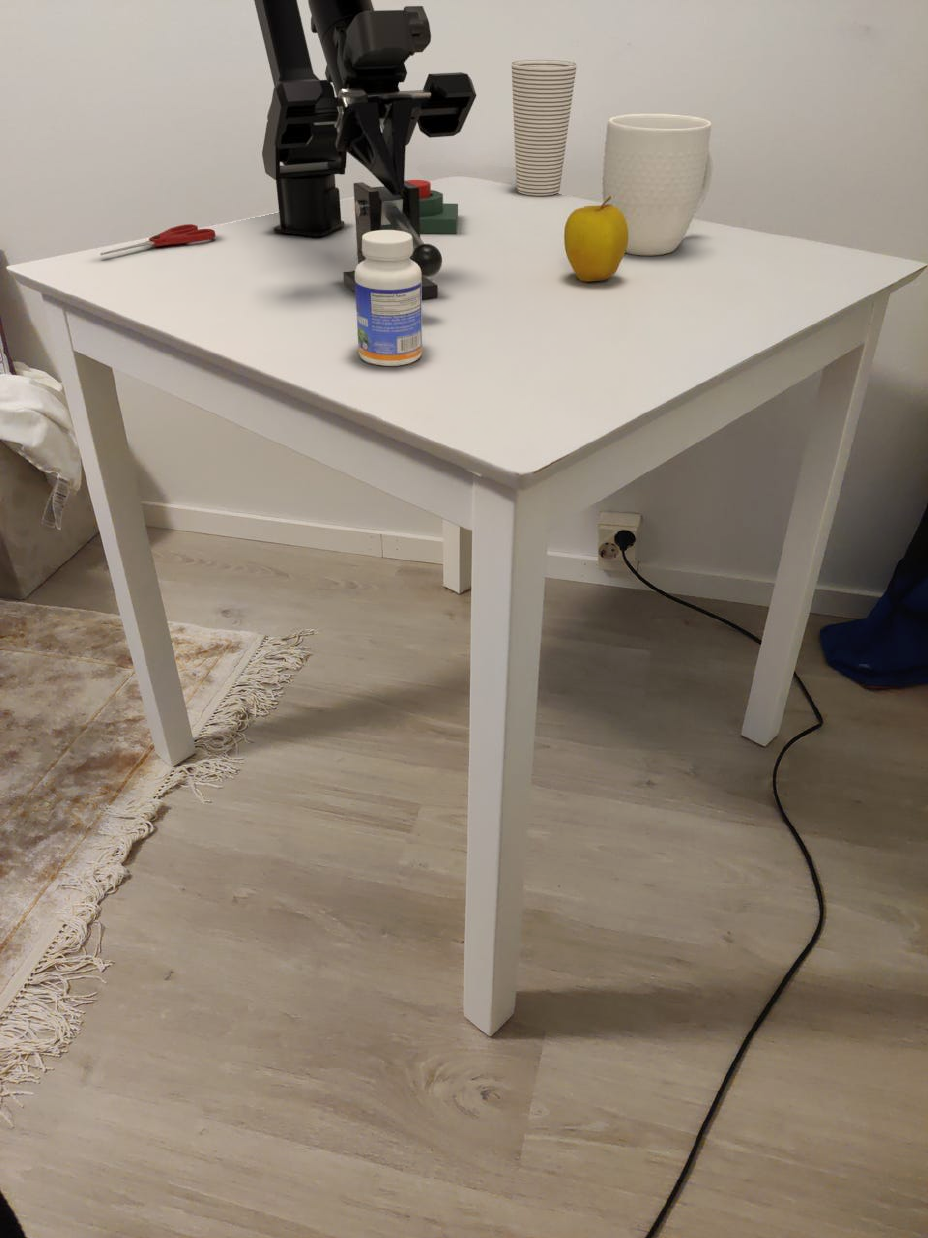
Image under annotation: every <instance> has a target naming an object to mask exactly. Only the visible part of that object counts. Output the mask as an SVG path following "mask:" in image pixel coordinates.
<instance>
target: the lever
mask: <svg viewBox="0 0 928 1238" xmlns="http://www.w3.org/2000/svg"><path fill="white" fill-rule="evenodd" d="M371 187H372V188H374V189H375V190H377V191H379V206H380V225H381V226H382V225H392V227H393V228H394V229H395V230H397V231H403V232H407V233H409V234H411V235H412V239H413V254H412V256H411V260H412V261H414V262H415V263H416V264H417V265H418V266H419V267H420V269H421V276H422V277H426V278H431V277H434V276H435V275H437V274H438V273H439V272H440V270H441V268H442V266H443V257H442V253H441V251H440V250H439V248H438V247H437V246H435V245H433V244H431V243H424V242H423V240H422V239H421V236H420V237H419V236H418V235H417V233H416V232H415V231H414V229H413V228H412V226H411V225H410V224H409V222H408V221H407V220H406V218H405V217H404V216H403V214H402V212H403V198H402V197H401V196H400V195H392V193H391V192H390V191H389V190H388V189H387V188H386V187H385V186H384V185H383V186H382V185H381V186H371Z"/></svg>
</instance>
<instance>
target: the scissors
mask: <svg viewBox="0 0 928 1238" xmlns="http://www.w3.org/2000/svg"><path fill="white" fill-rule="evenodd" d="M214 238H216V231H215V230H214V229H213V228H212V229H211V228H198V225H196V224H193V223H192V224H191V223H189V224H188V223H187V224H181V225H176V226H174V227H170V228H169V229H166V230H165V231H162V232H160V233H158V234H155V235H153V236H151V237H149V238H148V240H146V241H144V242H139V243H136V244H133V245H129V246H124V247H120V248H117V249H112V250H108V251H103V252H100V254H99V255H100V256H104V255H109V254H113V253H117V252H121V251H126V250H131V249H135V248H136V249H137V248H141V247H145V246H152V247H156V248H157V247H161V246H169V245H178V244H186V243H196V242H203V241H209V240H212V239H214Z"/></svg>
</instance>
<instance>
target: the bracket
mask: <svg viewBox="0 0 928 1238" xmlns="http://www.w3.org/2000/svg"><path fill="white" fill-rule="evenodd" d="M372 187H373V186H370V185H368V184H366V182H365V183H364V182H363V181H361V182H353V201H354V218H355V234H356V235H355V236H356V237H355V238H356V252H357V253H356V254H357V265H358V264H360V263H361V262H362V261H364V260H365V259H366V257H365V256H364V255H363V252H362V236H363V235H364V234H365V233H368V232H371V231H378V230H381V229H380V206H379V191H377V190H375V189H374V188H372ZM400 196H401V197H402V198H403V212H402V214H403V216H404V217H405V218H406V220H407V221H408V222H409V224H410V225H411V226H412V228H413V229H414V231H415V232H416V233H417V235H418V236H419V237H420V238H421V233H420V207H419V187H417V186H415V185H413V184H411V183H409V182H407V180H405V179H404V190H403V193H402V195H400ZM394 230H395V229H394ZM411 256H412V255H411ZM411 256H410V260H411ZM342 275H343V284H344V285H345V286H346V287H347V288H348V289H350V290H351V291H352V292H353V293H354V294H356V292H355V270H349V271H343V274H342ZM421 279H422V300H428V299H434V298H438V297H439V295H438V294H439V293H438V290H439V289H438V284H437V283H435V282H433V281H432V280H431V279H429V277H422V276H421Z"/></svg>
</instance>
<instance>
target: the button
mask: <svg viewBox="0 0 928 1238" xmlns="http://www.w3.org/2000/svg"><path fill="white" fill-rule="evenodd" d="M406 181H407V182H409V183H411V184H413V185H415V186H417V187H419V199H421V198H428V197H431V190H432V187H431V181H428V180H425V179H408V180H406Z"/></svg>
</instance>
